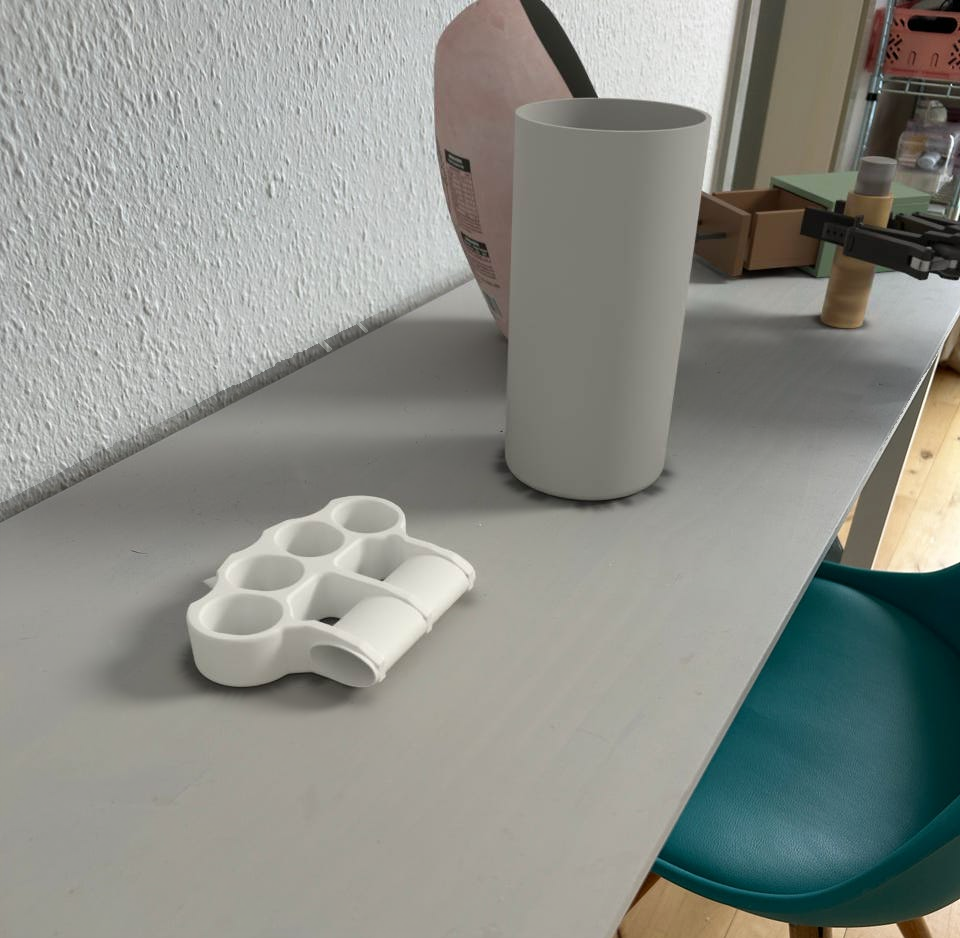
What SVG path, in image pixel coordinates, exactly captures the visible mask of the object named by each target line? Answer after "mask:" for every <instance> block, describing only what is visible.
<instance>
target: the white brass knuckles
mask: <svg viewBox="0 0 960 938" xmlns="http://www.w3.org/2000/svg"><path fill="white" fill-rule="evenodd" d="M476 575H477V574H476V570H475V569H474V567H473V566H472V564H471V563H469V561H467V560H466V559H465V558H464V557H462V556H461V555H459V554H458V553H456V552H454V551H452V550H450V549H447V548H444V547H441V546H438V545H437V544H434V543H432V542H428V541H425V540H421V539H418V538H414V537H411V536H409V535H408V534H407V522H406V515H405V513H404V511H403V510H402V509H401V507H400V506H398V505H397V504H396V503H394V502H392V501H390V500H388V499H385V498H381V497H377V496H370V495H348V496H342V497H337V498H334V499H331V500H330V501H329V502H328V503H327V504H326V505H325V506H324V507H323V508H322V509H319V510H318V511H316V512H314V513H312V514H309V515H305V516H302V517H297V518H289V519H286V520H284V521H282V522H279V523H277V524H275V525H273V526H270V527H268V528H265V529H264V530H263V531H262V534H261V536H260V537H259V539H257V540H256V541H255V542H254V543H252V544H251V545H250V546H248V547H246V548H244V549H242V550H239V551H236V552H233V553H230V554H229V555H228V556H227V558H226V559H225V560H224V562H223V563H222V564H221V565H220V566H219V567H218V569H216V571H215V576H211V577H209V578H206V579H204V580H202V582H203V583H204V584H205V585H207V587H209V588H210V589H211V590H210V591H209V592H208V593H206V595H204V596H202V597H201V598H199V599H197V600H196V601H193V602H191V603H190V604H189V605H188V608H187V610H186V615H185V616H186V617H185V618H186V625H187V630H188V636H189V640H190V645H191V649H192V650H191V651H192V655H193V659H194V663H195V666H196V668H197V669H198V671H199V672H200V673H201V674H202V675H203V676H204V677H205V678H206V679H208V680H210V681H211V682H213V683H217V684H220V685H223V686H227V687H237V688H247V687H257V686H261V685H265V684H269V683H271V682H274V681H277V680H278V679H281V678H283V677H284V676H287V675H289V674H297V673H298V674H300V673H314V674H317V675H320V676H322V677H325V678H328V679H330V680H333V681H335V682H338V683H340V684H342V685H343V684H344V685H346V686H349V687H354V688H368V687H372V686H374V685H375V684H378V683H381V682H382V681H383V680H384V679H385V678H387V677H386V676H387V675H386V674H387V672H388V671H389V670H390V669H391V668H392V666H394V665H395V664H396V663H397V661H399V660H400V659H401V658H402V656H403V655H404V654H405V653H406V652H407V651H408V650H410V648H411V647H412V646H414V644H415V643H416V642H418V640H419V639H421V637H422V636H424V635H427V634H429V633H430V631H432V629H433V625H434V624H435V623H436V622H437V621H438V620H439V619H440V618H441V617H442V616H443V615H444V614H445V613H446V612H447V611H448V610H449V608H451V607H452V606H453V605H454V604H455V603H456V601H457V600H459V599H460V597H462V596H463V594H464V593H466V592H469V591H471V589H473V587H474V583H475V582H476ZM325 618H337V619H339V620H338V621H337V622H336V623H334V624H333V625H330V624H328V623H324V622H321V620H323V619H325Z"/></svg>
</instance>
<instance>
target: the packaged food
mask: <svg viewBox="0 0 960 938" xmlns="http://www.w3.org/2000/svg"><path fill="white" fill-rule="evenodd" d="M570 98H599V96H598V94H597V91H596V89H595V87H594V85H593V83H592V81H591V79H590V76H589V75H588V72H587V70H586V68H585V65H584V64H583V62H582V60H581V58H580V56H579V54H578V52H577V50H576V48H575V47H574V45H573V44H572V42H571V40H570V38H569V36H568V34H567V33H566V30H564V28H563V26H562V25H561V23H560V22H559V20H558V19H557V17H556V15H555V14H554V12H552V11H551V9H550V8H549V6H548V5H546V3H545V2H544V1H543V0H476V1H473V2H472V3H470V4H469V5H467V6H466V7H464V9H462V10H461V11H460V12H459V13H458V14H457V15H456V16H455V17H454V18H453V19H452V20H451V21H450V22H449V23H448V25H447V26H446V27H445V29H443V31H442V32H441V34H440V36H439V38H438V40H437V44H436V47H435V53H434V63H433V117H434V118H433V121H434V124H433V125H434V137H435V138H434V139H435V148H436V156H437V163H438V168H439V174H440V180H441V184H442V189H443V190H442V191H443V194H444V199H445V203H446V207H447V210H448V213H449V217H450V219H451V223H452V227H453V228H454V231H455V234H456V236H457V239H458V242H459V244H460V246H461V249H462V251H463V254H464V256H465V259H466V260H467V263H468V266H469V267H470V270H471V272H472V274H473V277H474V279H475V282H476V284H477V286H478V288H479V290H480V293H481V294H482V297H483V299H484V301H485V303H486V305H487V307H488V310H489V311H490V313H491V315H492V317H493V320H494V321H495V323H496V324H497V326H498V328H499V330H500V331H501V333H502V334H503V335H504V336H505V338H506V339H507V340H508V338H509V305H510V272H511V239H512V207H513V174H514V141H515V111H516V109H517V108H519V107H521V106H523V105H526V104H530V103H534V102H540V101H547V100H556V99H570Z"/></svg>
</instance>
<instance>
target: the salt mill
mask: <svg viewBox="0 0 960 938" xmlns="http://www.w3.org/2000/svg"><path fill="white" fill-rule="evenodd" d="M897 164H898V160H897V159H894V158H891V157H887V156H877V155H875V156H874V155H870V156H869V155H867V156H862V157H861V159H860V161H859V166H858V169H857V171H858V174H857V179H856V183H855V188H853V189H850V190H849V191H848V195H847V200H846V205H845V209H844V214H843V215H847V216H851V217H854V218H855V216H856V215H864V219H863V224H868V225H873V226H878V227H884V228H886V227H887V223H888V219H889V215H890V211H891V207H892V203H893V199H894V193H892V192H890V189H891V185H892V181H893V182H894V177H895V173H896V168H897ZM842 252H843V246H839V245H836V250H835V254H834V259H833V263H832V268H831V272H830V277H829V278H828V282H827V286H826V291H825V295H824V299H823V305H822V309H821V313H820V317H819V318H820V321H821V323H823V324H825V325H827V326H830V327H833V328H839V329H855V328H859V327H861V326H862V325H864V324H863V323H864V321H865V320H864V318H865V315H866V312H867V307H868V304H869V299H870V295H871V291H872V288H873V283H874V279H875V275H876V272H875V271H876V267H877V265H875V264H872V263H869V262H865V261H862V260H858V259H855V258H852V257H847V256H845V255H843V254H842Z"/></svg>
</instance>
